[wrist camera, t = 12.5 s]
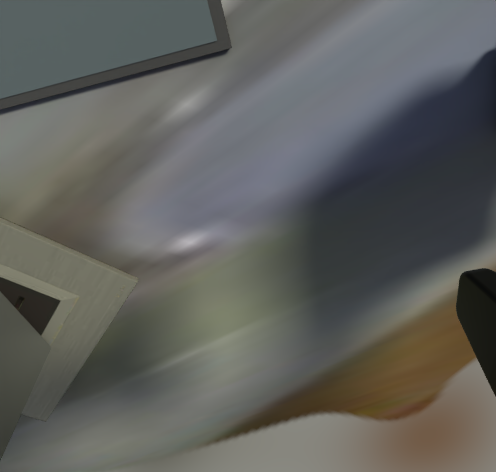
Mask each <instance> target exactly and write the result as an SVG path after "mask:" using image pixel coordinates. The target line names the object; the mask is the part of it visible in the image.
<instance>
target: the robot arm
mask: <svg viewBox="0 0 496 472" xmlns="http://www.w3.org/2000/svg"><path fill="white" fill-rule="evenodd" d="M456 311H457V316H458V319H459V321H460V323H461V325H462V327H463V329H464V331H465V334H466V336H467V338H468V340H469V342H470V344H471V346H472V348H473V351H474V353H475V355H476V357H477V359H478V361H479V363H480V365H481V367H482V370H483V371H484V373H485V376H486V378H487V380H488V382H489V384H490V386H491V388H492V390H493V392H494V394H495V396H496V272H494V271H492V270H490V269H486V268H482V269H476V270H471V271H466V272H464V273H462V274H461V276H460V279H459V287H458V295H457V302H456Z"/></svg>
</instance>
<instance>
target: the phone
mask: <svg viewBox="0 0 496 472" xmlns="http://www.w3.org/2000/svg"><path fill="white" fill-rule="evenodd" d="M229 48H232V46H231V42H230V38H229V34H228V29H227V25H226V21H225V17H224V12H223V8H222V4H221V0H0V109H4V108H8V107H12V106H15V105H19V104H23V103H27V102H30V101H34V100H38V99H42V98H45V97H49V96H53V95H57V94H60V93H64V92H68V91H72V90H75V89H79V88H83V87H87V86H90V85H94V84H98V83H102V82H106V81H109V80H113V79H117V78H121V77H124V76H128V75H132V74H136V73H139V72H143V71H147V70H151V69H154V68H158V67H162V66H166V65H169V64H173V63H177V62H181V61H184V60H188V59H192V58H196V57H199V56H203V55H207V54H211V53H214V52H218V51H222V50H226V49H229Z"/></svg>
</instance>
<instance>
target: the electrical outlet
mask: <svg viewBox="0 0 496 472" xmlns="http://www.w3.org/2000/svg"><path fill="white" fill-rule="evenodd" d="M137 282H138V278H136V277H134V276H132V275H130V274H127V273H125V272H123V271H121V270H118V269H116V268H114V267H111V266H109V265H107V264H105V263H102V262H100V261H98V260H96V259H93V258H91V257H89V256H87V255H84V254H82V253H80V252H78V251H75V250H73V249H71V248H69V247H66V246H64V245H62V244H60V243H58V242H55V241H53V240H51V239H49V238H46V237H44V236H42V235H40V234H37V233H35V232H33V231H31V230H28V229H26V228H24V227H22V226H19V225H17V224H15V223H12V222H10V221H8V220H6V219H3V218H1V217H0V292H1V293H2V294H3V295H4V296H5V297H6V298H7V299H8V301H9V302H10V303H11V304H12V305H13V306H14V307H15V308H16V309H17V310H18V311H19V313H20V314H21V315H22V316H23V317H24V318H25V319H26V320H27V321H28V322H29V323H30V325H31V326H32V327H33V328H34V329H35V330H36V331H37V332H38V333H39V334H40V335H41V337H42V338H43V339H44V340H45V341H46V342H47V343H48V344H49V345H50V346H51V350H50V352H49V354H48V357H47V359H46V361H45V363H44V365H43V368H42V370H41V372H40V374H39V376H38V379H37V381H36V383H35V385H34V387H33V390H32V392H31V394H30V396H29V398H28V401H27V403H26V405H25V407H24V409H23V412H22V414H21V415H24V416H28V417H31V418H35V419H38V420H41V421H45V422H46V421H47V420H48V418H49V416H50V415H51V413H52V412H53V410H54V409H55V407H56V406H57V404H58V403H59V401H60V400H61V398H62V397H63V395H64V394H65V392H66V391H67V389H68V387H69V386H70V384H71V383H72V381H73V380H74V378H75V377H76V375H77V374H78V372H79V371H80V369H81V368H82V366H83V365H84V363H85V362H86V360H87V359H88V357H89V355H90V354H91V352H92V351H93V349H94V348H95V346H96V345H97V343H98V342H99V340H100V339H101V337H102V336H103V334H104V333H105V331H106V330H107V328H108V327H109V325H110V323H111V322H112V320H113V319H114V317H115V316H116V314H117V313H118V311H119V310H120V308H121V307H122V305H123V304H124V302H125V301H126V299H127V298H128V296H129V294H130V293H131V291H132V290H133V288H134V287H135V285H136V284H137Z"/></svg>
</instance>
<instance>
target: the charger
mask: <svg viewBox="0 0 496 472" xmlns="http://www.w3.org/2000/svg"><path fill="white" fill-rule="evenodd" d="M50 350H51V346H50V345H49V344H48V343H47V342H46V341H45V340H44V339H43V338H42V337H41V335H40V334H39V333H38V332H37V331H36V330H35V329H34V328H33V327H32V326H31V325H30V323H29V322H28V321H27V320H26V319H25V318H24V317H23V316H22V315H21V314H20V313H19V311H18V310H17V309H16V308H15V307H14V306H13V305H12V304H11V303H10V302H9V301H8V299H7V298H6V297H5V296H4V295H3V294H2V293H1V292H0V460H1V458H2V456H3V453H4V451H5V449H6V447H7V445H8V442H9V440H10V438H11V436H12V434H13V431H14V429H15V427H16V425H17V423H18V420H19V418H20V416H21V414H22V412H23V409H24V407H25V405H26V403H27V401H28V398H29V396H30V394H31V392H32V390H33V387H34V385H35V383H36V381H37V379H38V376H39V374H40V372H41V370H42V368H43V365H44V363H45V361H46V359H47V357H48V354H49V352H50Z"/></svg>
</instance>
